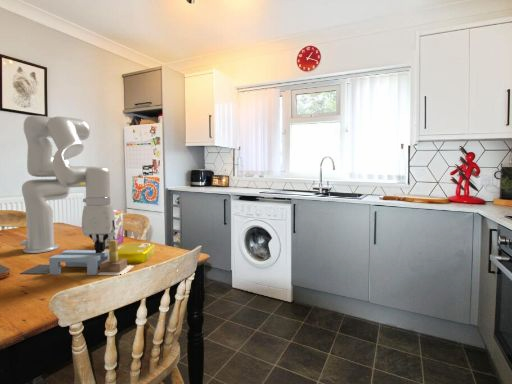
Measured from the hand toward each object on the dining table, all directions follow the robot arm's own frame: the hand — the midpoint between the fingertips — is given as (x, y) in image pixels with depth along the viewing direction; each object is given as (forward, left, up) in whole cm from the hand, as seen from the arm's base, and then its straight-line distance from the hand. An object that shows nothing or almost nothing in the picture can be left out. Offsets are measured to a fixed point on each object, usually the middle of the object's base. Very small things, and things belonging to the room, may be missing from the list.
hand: (100, 252), depth 104 cm
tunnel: (-7, 0, -7) cm, 10 cm away
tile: (+6, 0, -7) cm, 9 cm away
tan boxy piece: (+5, 0, -7) cm, 8 cm away
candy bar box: (-12, +35, -7) cm, 38 cm away
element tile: (+5, +16, -7) cm, 18 cm away
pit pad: (-21, 0, -7) cm, 22 cm away
